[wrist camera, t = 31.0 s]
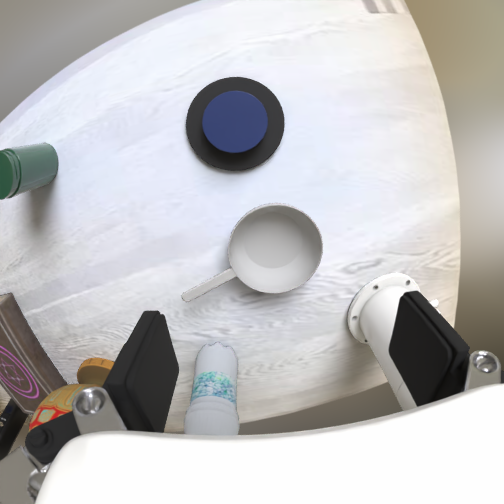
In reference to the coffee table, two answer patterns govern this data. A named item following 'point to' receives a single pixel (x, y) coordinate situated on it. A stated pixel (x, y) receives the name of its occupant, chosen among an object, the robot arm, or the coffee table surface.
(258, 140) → the lid
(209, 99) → the coaster
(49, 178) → the jar
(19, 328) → the book
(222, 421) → the bottle
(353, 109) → the coffee table surface
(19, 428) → the wine bottle
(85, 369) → the vase
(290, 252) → the saucepan
